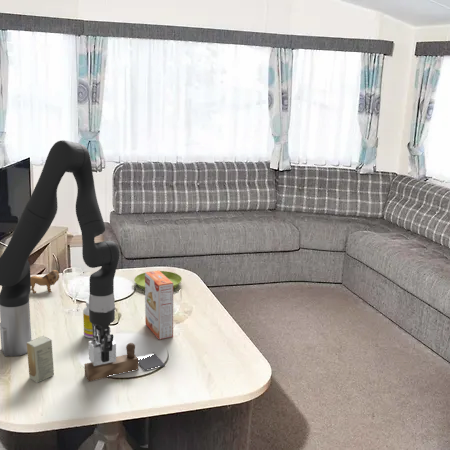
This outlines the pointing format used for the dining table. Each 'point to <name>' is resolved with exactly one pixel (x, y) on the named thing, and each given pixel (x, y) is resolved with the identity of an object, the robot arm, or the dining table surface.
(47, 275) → the lion figurine
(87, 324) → the supplement bottle
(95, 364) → the lever cap
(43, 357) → the skincare box
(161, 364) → the rubber mat
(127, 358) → the body
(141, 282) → the saucer
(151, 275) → the cracker box
